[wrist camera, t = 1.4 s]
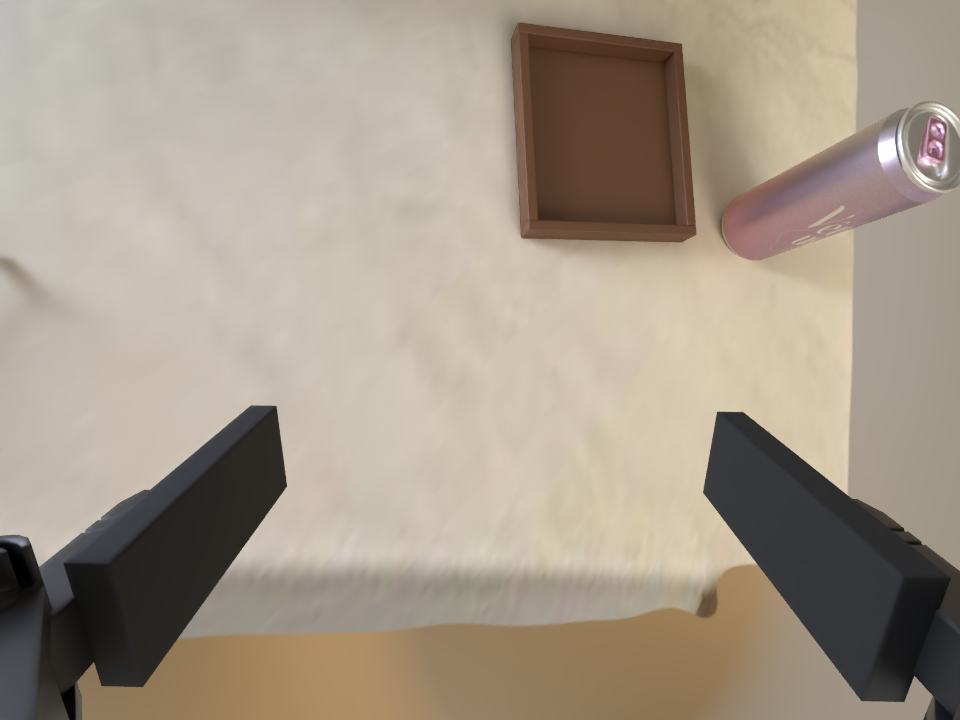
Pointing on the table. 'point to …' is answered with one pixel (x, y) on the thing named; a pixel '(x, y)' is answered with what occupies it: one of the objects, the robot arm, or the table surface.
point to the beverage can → (850, 183)
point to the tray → (601, 136)
